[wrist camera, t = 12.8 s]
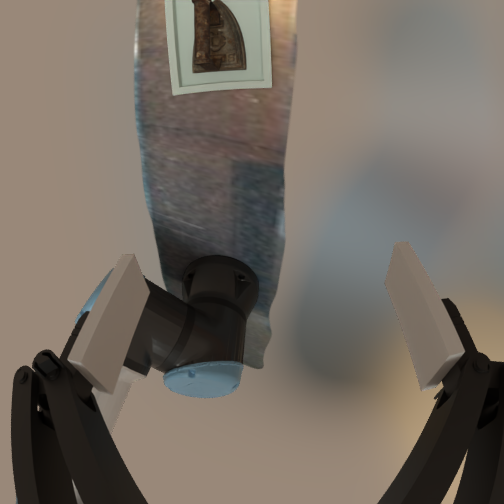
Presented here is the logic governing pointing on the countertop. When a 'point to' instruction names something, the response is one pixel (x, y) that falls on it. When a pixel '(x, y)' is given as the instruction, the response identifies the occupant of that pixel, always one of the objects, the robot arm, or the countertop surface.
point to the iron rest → (185, 81)
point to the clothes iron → (216, 38)
